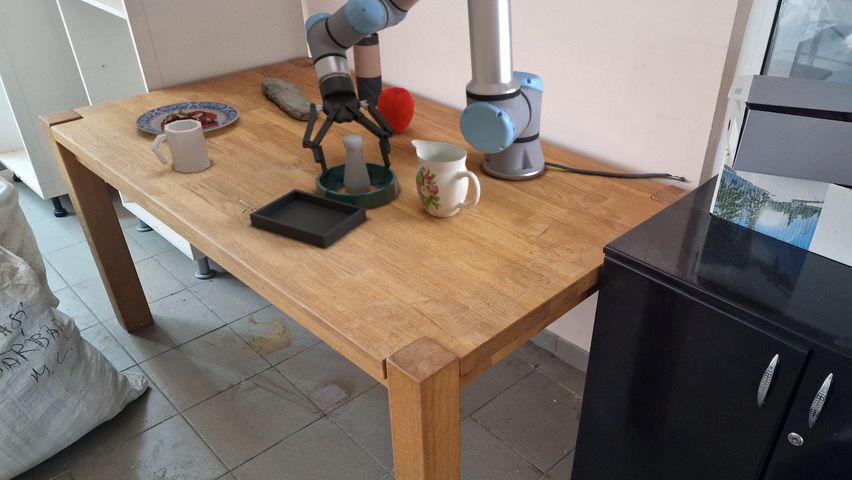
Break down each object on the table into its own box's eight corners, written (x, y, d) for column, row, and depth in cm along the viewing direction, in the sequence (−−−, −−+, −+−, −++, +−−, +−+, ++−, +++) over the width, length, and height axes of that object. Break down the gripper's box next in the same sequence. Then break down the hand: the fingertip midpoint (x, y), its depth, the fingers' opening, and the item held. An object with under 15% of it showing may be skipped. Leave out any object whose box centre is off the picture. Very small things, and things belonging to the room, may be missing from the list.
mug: (202, 155, 161) (193, 117, 155) (217, 166, 156) (208, 127, 150) (152, 168, 154) (140, 128, 148) (165, 180, 149) (154, 139, 143)
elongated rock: (293, 129, 181) (327, 124, 186) (292, 110, 178) (326, 106, 183) (253, 87, 204) (285, 85, 209) (251, 71, 201) (283, 68, 206)
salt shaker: (349, 199, 144) (342, 143, 137) (341, 188, 148) (335, 134, 141) (374, 194, 146) (369, 139, 139) (366, 184, 150) (361, 130, 143)
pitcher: (461, 234, 132) (461, 171, 125) (398, 207, 141) (394, 147, 134) (494, 214, 140) (496, 154, 132) (432, 190, 149) (430, 132, 141)
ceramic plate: (252, 130, 175) (250, 120, 174) (148, 149, 163) (145, 137, 161) (226, 103, 193) (224, 93, 191) (130, 118, 181) (127, 107, 179)
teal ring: (412, 185, 151) (411, 171, 149) (367, 216, 137) (365, 201, 135) (349, 169, 157) (348, 156, 155) (301, 198, 143) (298, 183, 141)
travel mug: (378, 108, 194) (373, 38, 183) (353, 105, 195) (347, 36, 184) (387, 100, 200) (382, 32, 189) (363, 97, 201) (357, 30, 190)
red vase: (405, 140, 173) (403, 95, 166) (372, 135, 176) (368, 90, 169) (421, 128, 181) (419, 84, 174) (389, 123, 184) (386, 79, 177)
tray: (366, 219, 136) (365, 208, 135) (325, 248, 126) (323, 236, 125) (296, 199, 143) (294, 188, 141) (251, 225, 133) (249, 214, 131)
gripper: (387, 86, 153) (409, 170, 150) (277, 96, 144) (298, 186, 141) (392, 69, 146) (415, 157, 143) (277, 79, 137) (299, 173, 134)
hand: (357, 171), depth 142 cm, fingers open, 13 cm apart
